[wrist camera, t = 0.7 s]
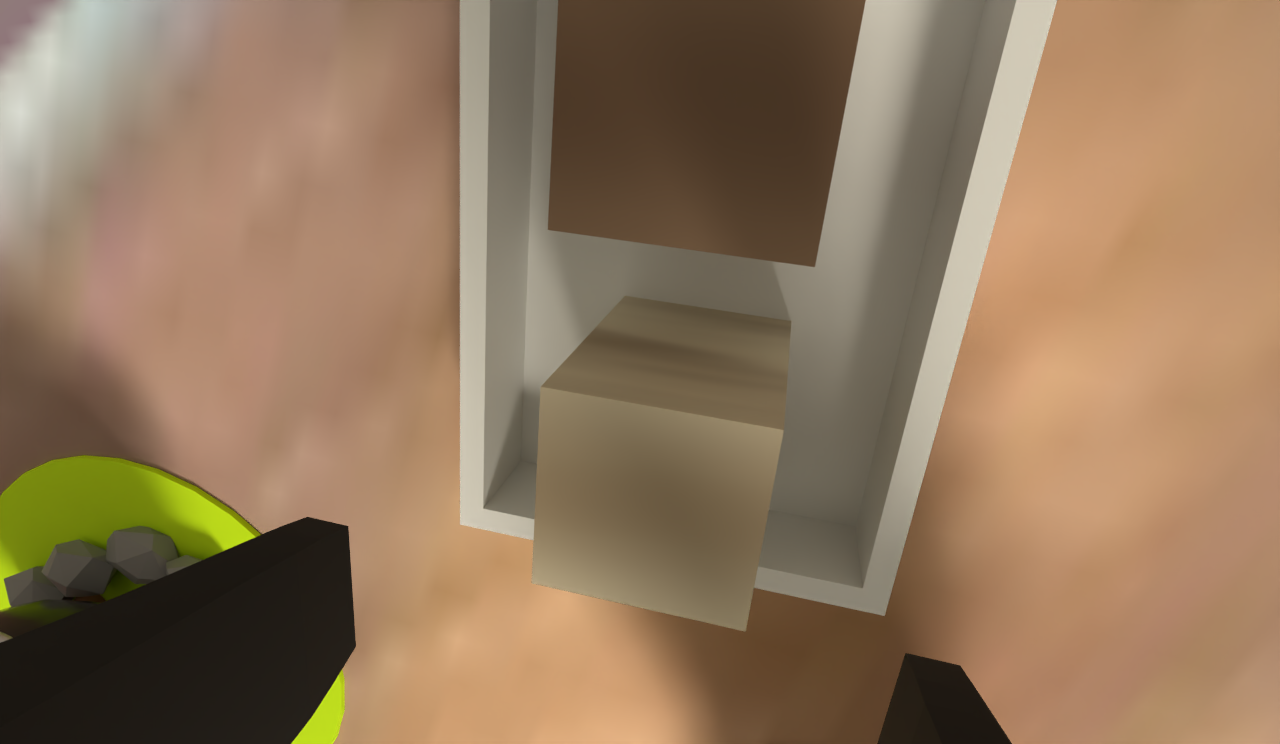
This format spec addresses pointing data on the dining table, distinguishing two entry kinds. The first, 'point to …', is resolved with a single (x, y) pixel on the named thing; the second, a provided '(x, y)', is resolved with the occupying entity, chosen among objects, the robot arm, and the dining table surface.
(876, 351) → the parts bin
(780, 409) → the birch block
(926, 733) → the robot arm
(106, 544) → the toy cauldron
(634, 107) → the walnut block
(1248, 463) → the dining table surface
